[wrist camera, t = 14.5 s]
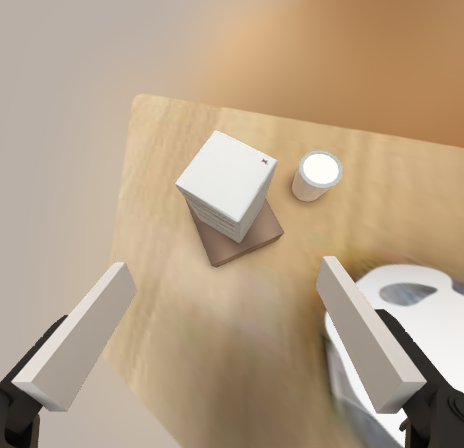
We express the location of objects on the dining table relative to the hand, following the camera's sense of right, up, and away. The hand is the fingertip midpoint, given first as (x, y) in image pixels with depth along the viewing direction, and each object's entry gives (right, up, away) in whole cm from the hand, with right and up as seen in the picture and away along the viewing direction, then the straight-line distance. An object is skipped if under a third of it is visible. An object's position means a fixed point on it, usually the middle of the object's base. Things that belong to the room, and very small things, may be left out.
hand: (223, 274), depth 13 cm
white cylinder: (+15, +10, +24) cm, 30 cm away
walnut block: (+1, +3, +23) cm, 23 cm away
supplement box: (+1, +5, +17) cm, 18 cm away
